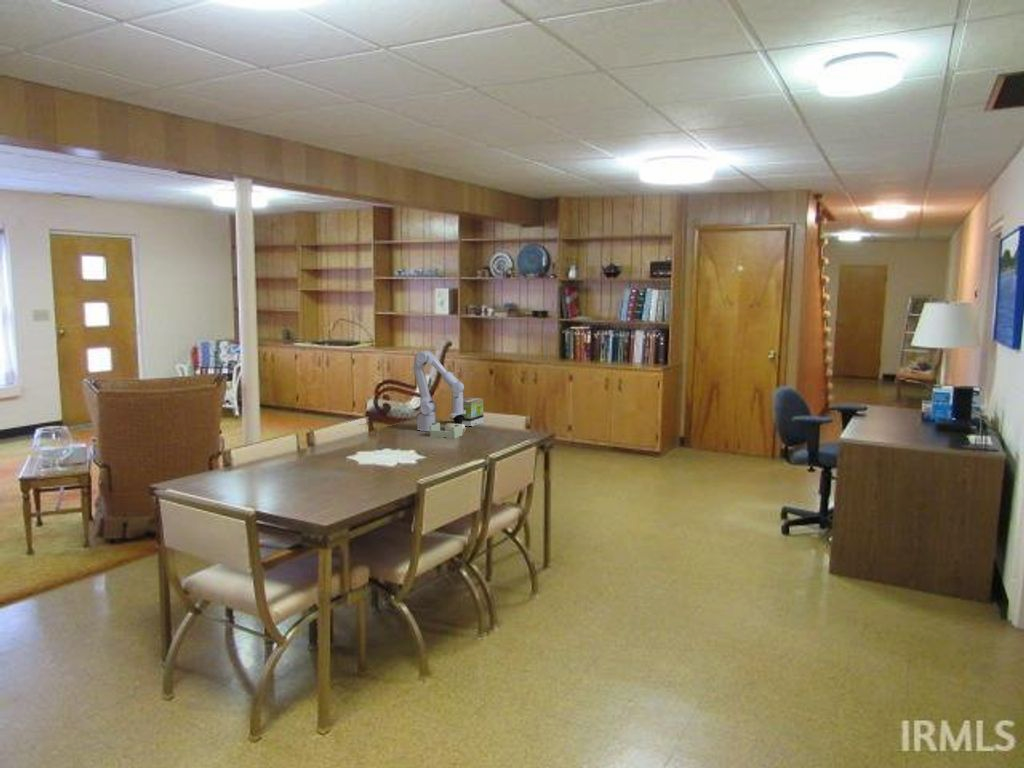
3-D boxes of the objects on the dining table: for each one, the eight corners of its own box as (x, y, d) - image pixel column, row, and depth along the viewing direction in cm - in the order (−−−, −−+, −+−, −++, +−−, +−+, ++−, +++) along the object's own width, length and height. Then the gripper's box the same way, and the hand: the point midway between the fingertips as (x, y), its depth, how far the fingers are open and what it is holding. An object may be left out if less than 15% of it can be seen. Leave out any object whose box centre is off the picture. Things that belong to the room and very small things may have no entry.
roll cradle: (429, 436, 384) (429, 424, 383) (438, 433, 392) (437, 421, 391) (454, 438, 378) (454, 426, 377) (462, 435, 386) (462, 423, 385)
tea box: (471, 427, 408) (471, 401, 406) (456, 426, 413) (455, 400, 411) (484, 423, 422) (483, 397, 420) (469, 421, 426) (468, 396, 424)
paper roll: (443, 428, 393) (446, 421, 396) (447, 434, 397) (450, 426, 399) (460, 430, 389) (463, 422, 392) (463, 435, 393) (466, 427, 395)
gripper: (458, 406, 388) (458, 431, 389) (470, 402, 401) (471, 426, 403) (446, 406, 390) (447, 430, 392) (459, 402, 404) (459, 426, 405)
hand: (458, 428), depth 398 cm, fingers closed
